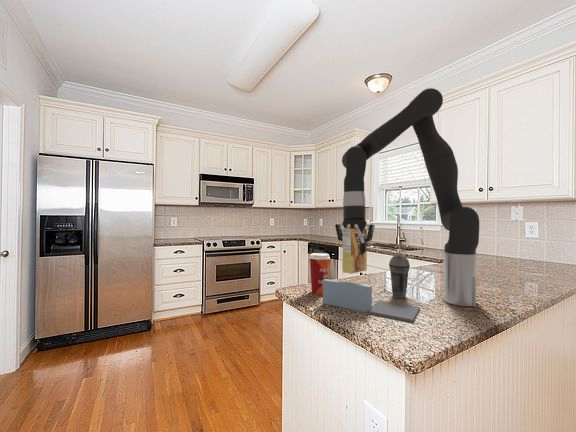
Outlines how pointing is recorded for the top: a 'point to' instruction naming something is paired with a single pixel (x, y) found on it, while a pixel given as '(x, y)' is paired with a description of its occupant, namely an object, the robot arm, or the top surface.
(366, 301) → the screen
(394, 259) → the beverage cup
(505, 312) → the top surface
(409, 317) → the mat
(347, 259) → the candy box
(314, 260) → the coffee cup
